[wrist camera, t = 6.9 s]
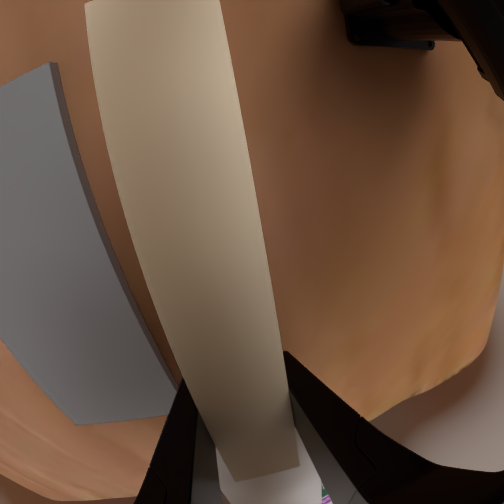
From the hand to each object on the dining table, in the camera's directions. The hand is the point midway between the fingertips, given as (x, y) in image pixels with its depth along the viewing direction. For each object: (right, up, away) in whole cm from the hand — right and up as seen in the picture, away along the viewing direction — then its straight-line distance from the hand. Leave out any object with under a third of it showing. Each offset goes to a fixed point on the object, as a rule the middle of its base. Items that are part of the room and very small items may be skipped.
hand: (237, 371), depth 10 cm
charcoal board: (-13, 0, +10) cm, 17 cm away
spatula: (0, -1, +2) cm, 2 cm away
